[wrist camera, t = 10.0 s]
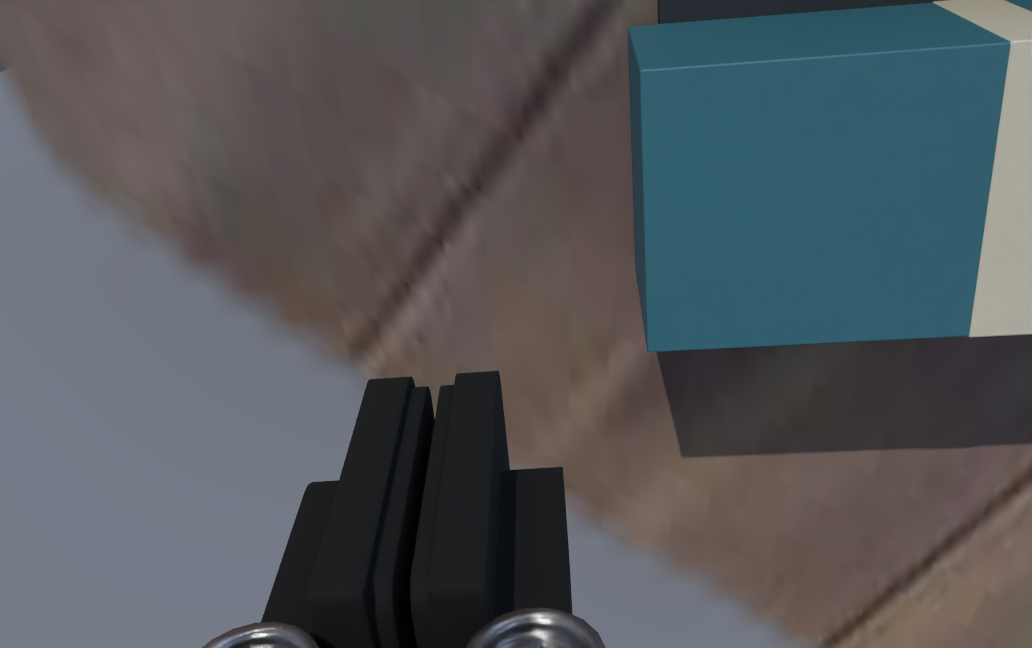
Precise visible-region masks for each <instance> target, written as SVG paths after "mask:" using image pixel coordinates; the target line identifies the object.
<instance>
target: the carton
mask: <svg viewBox="0 0 1032 648" xmlns="http://www.w3.org/2000/svg"><path fill="white" fill-rule="evenodd" d="M628 53H629V83H630V114H631V144H632V174H633V205H634V235H635V266H636V276H637V283H638V290H639V297H640V304H641V310H642V317H643V324H644V331H645V338H646V345H647V351H648V352H665V351H685V350H705V349H725V348H745V347H764V346H784V345H804V344H824V343H843V342H863V341H883V340H903V339H923V338H942V337H962V336H968V337H988V336H1008V335H1028V334H1032V0H946V1H934V2H932V3H921V4H909V5H896V6H883V7H870V8H858V9H845V10H832V11H820V12H807V13H794V14H781V15H769V16H756V17H743V18H731V19H718V20H705V21H693V22H680V23H667V24H654V25H642V26H630V27H628Z"/></svg>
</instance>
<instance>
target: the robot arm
mask: <svg viewBox="0 0 1032 648" xmlns="http://www.w3.org/2000/svg"><path fill="white" fill-rule="evenodd" d="M569 565H570V564H569V549H568V534H567V519H566V506H565V492H564V479H563V468H562V467H554V468H537V469H521V470H510V467H509V458H508V448H507V438H506V429H505V419H504V410H503V400H502V391H501V382H500V375H499V371H490V372H475V373H460V374H456V378H455V385H445V386H441V387H440V391H439V397H438V404H437V410H436V417H435V419H434V412H433V405H432V398H431V393H430V389H429V387H415V384H414V380H413V378H412V377H399V378H384V379H370V380H369V381H368V383H367V386H366V389H365V393H364V396H363V400H362V403H361V407H360V410H359V414H358V417H357V420H356V424H355V427H354V431H353V435H352V438H351V442H350V445H349V449H348V452H347V455H346V459H345V462H344V466H343V469H342V473H341V476H340V480H339V481H324V482H312V483H310V484H309V485H308V486H307V488H306V490H305V492H304V495H303V498H302V501H301V504H300V508H299V510H298V513H297V516H296V519H295V523H294V525H293V528H292V531H291V534H290V537H289V540H288V543H287V546H286V549H285V552H284V555H283V558H282V561H281V564H280V567H279V570H278V573H277V576H276V579H275V582H274V585H273V588H272V591H271V594H270V597H269V600H268V603H267V606H266V609H265V612H264V615H263V618H262V621H261V623H253V624H250V625H246V626H242V627H239V628H235V629H232V630H230V631H228V632H226V633H224V634H222V635H221V636H219V637H216V638H214V639H213V640H211V641H210V642H209V643H207V644H206V645H205V646H204V647H203V648H605V646H604V644H603V642H602V640H601V638H600V636H599V634H598V632H597V631H595V630H594V629H593V628H592V627H591V626H590V625H589V624H587V622H585V621H584V620H583V619H580V618H579V617H576V616H574V615H572V601H571V583H570V582H571V581H570V566H569Z"/></svg>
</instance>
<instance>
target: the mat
mask: <svg viewBox="0 0 1032 648" xmlns="http://www.w3.org/2000/svg"><path fill="white" fill-rule="evenodd" d="M934 1H946V0H658V24H667V23H680V22H693V21H705V20H718V19H731V18H743V17H756V16H769V15H781V14H794V13H807V12H820V11H832V10H845V9H858V8H870V7H883V6H896V5H909V4H921V3H932V2H934Z"/></svg>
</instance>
